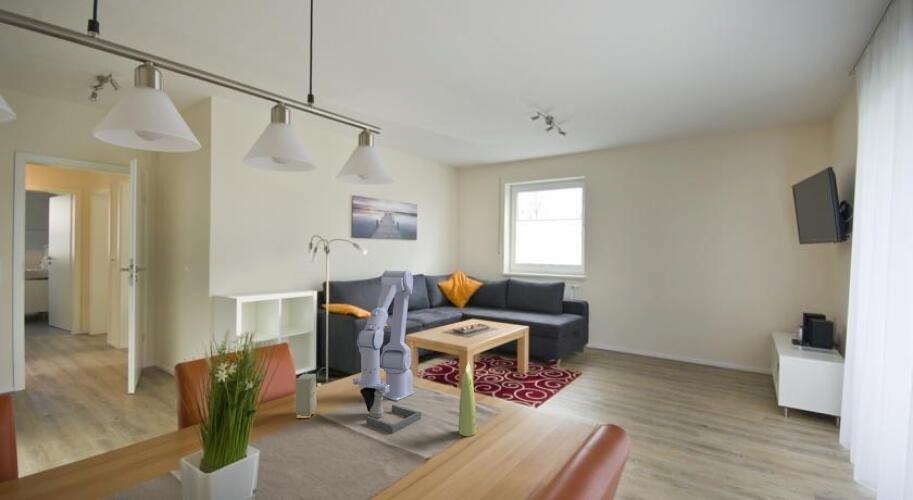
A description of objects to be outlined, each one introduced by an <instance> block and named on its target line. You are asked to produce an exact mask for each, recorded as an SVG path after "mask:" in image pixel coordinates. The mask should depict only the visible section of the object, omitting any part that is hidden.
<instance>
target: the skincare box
mask: <svg viewBox="0 0 913 500" xmlns="http://www.w3.org/2000/svg"><path fill="white" fill-rule="evenodd" d="M316 376H317V375H316V373H302V374H301V375H300V376H299V377H297V378H296V379H295V405H296V406H295V407H296V409H295V410H296V416H297V415H301V416H310V415H311V414H312V413H313V412H314V411H315V409H316V408H318V406H317V380H316V379H317V377H316Z"/></svg>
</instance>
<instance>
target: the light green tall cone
mask: <svg viewBox="0 0 913 500" xmlns="http://www.w3.org/2000/svg"><path fill="white" fill-rule="evenodd" d="M472 374H473V373H472V368H471V365H470V360H468V362H467V364H466V366H465V370H464V373H463V375H462V381H461V387H460V396H459V408H458V409H459V411H458V414H459V415H458V434H460V435H461V436H464V437H471V436H474V435H475V434H476V433H477V418H476V400H475V399H476V397H475V391H474V390H475V389H474V381H473V375H472Z"/></svg>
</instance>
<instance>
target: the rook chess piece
mask: <svg viewBox="0 0 913 500" xmlns="http://www.w3.org/2000/svg"><path fill="white" fill-rule="evenodd" d="M374 394H375V397H374V399H375V400H374V404H373V406H372V407H371V409H370V412H368V413H369V416H370V417H373V418H376V419H380V418H382V417H383V416H384V411H385V410H384V407H383V400H384V397H383V396H384V395H385V393H383V391H379V390H377V389H376V391H375V392H374Z"/></svg>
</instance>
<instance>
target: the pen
mask: <svg viewBox="0 0 913 500" xmlns="http://www.w3.org/2000/svg"><path fill="white" fill-rule="evenodd" d="M391 412H392V413H394V414H399V415H402V416H404V417H406V418H403V419H402V420H399V421H398V422H395V423H394V424H393V423H390V422H387V421H385V420H380V418H373V417H371V416H370V415H368V416H366V419H365V420H366V423H367V425H369V426H372V427H375V428H378V429H380V430H383V431H386V432H390V434H394V433H398V432H399V431H401V430H402V429H405V428H406V427H409V426H410V425H411V424H414V423H416V422H417V421H419V420H422V411H416V410H413V409H410V408H407V407H403V406H400V405H396V404H392V405H391ZM366 423H365V424H366Z"/></svg>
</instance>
